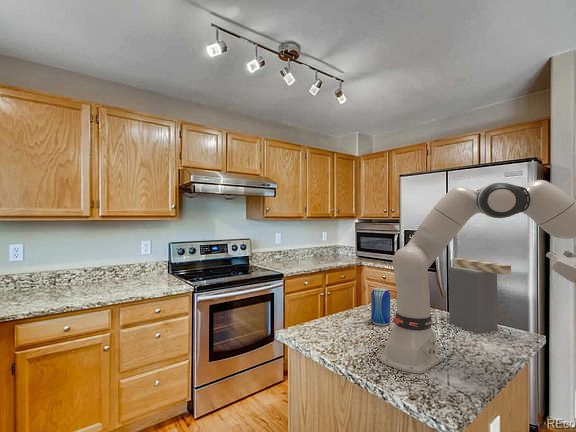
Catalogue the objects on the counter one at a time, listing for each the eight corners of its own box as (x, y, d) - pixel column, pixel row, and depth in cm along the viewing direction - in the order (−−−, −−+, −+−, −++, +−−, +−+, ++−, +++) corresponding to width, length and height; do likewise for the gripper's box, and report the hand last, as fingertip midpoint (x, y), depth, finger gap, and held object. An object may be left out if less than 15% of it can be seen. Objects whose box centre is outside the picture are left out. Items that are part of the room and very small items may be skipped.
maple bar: (511, 274, 123) (511, 265, 123) (504, 274, 121) (504, 265, 121) (459, 265, 145) (459, 258, 145) (452, 265, 144) (452, 258, 144)
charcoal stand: (497, 330, 132) (497, 270, 132) (477, 333, 128) (477, 271, 128) (468, 320, 145) (468, 265, 145) (449, 323, 141) (449, 266, 141)
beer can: (374, 319, 146) (373, 286, 146) (392, 322, 142) (392, 288, 142) (369, 324, 139) (369, 289, 139) (388, 328, 135) (387, 291, 135)
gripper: (627, 269, 96) (580, 244, 108) (589, 273, 89) (543, 246, 101) (614, 284, 99) (569, 258, 111) (576, 289, 92) (532, 261, 104)
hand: (556, 253), depth 106 cm, fingers open, 8 cm apart
